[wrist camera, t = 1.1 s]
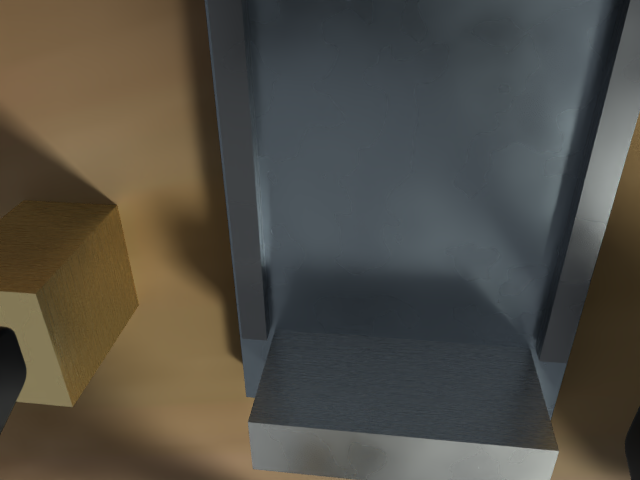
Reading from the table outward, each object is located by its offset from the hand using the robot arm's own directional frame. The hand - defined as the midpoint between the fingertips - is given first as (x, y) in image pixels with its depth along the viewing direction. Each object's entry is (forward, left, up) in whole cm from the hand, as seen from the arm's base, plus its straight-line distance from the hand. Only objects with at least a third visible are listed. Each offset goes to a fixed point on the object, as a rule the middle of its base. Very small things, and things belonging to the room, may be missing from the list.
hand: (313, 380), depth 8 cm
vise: (-2, -2, -13) cm, 13 cm away
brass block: (-7, +12, -13) cm, 19 cm away
